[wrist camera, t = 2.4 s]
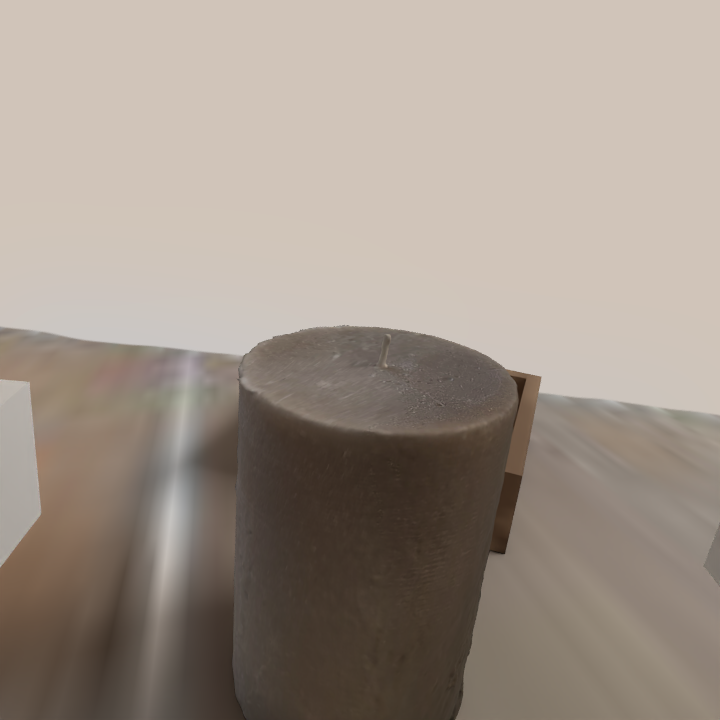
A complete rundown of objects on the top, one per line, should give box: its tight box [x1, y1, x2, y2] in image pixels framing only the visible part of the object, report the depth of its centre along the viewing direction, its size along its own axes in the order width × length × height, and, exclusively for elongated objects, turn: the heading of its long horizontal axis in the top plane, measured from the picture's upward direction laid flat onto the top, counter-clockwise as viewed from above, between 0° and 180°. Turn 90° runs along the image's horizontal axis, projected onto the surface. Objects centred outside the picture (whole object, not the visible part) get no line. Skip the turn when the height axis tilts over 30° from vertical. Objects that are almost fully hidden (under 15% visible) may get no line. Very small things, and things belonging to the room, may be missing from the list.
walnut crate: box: [490, 370, 541, 554], centre depth 42 cm, size 15×15×5 cm
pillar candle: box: [232, 325, 519, 720], centre depth 24 cm, size 10×10×15 cm
